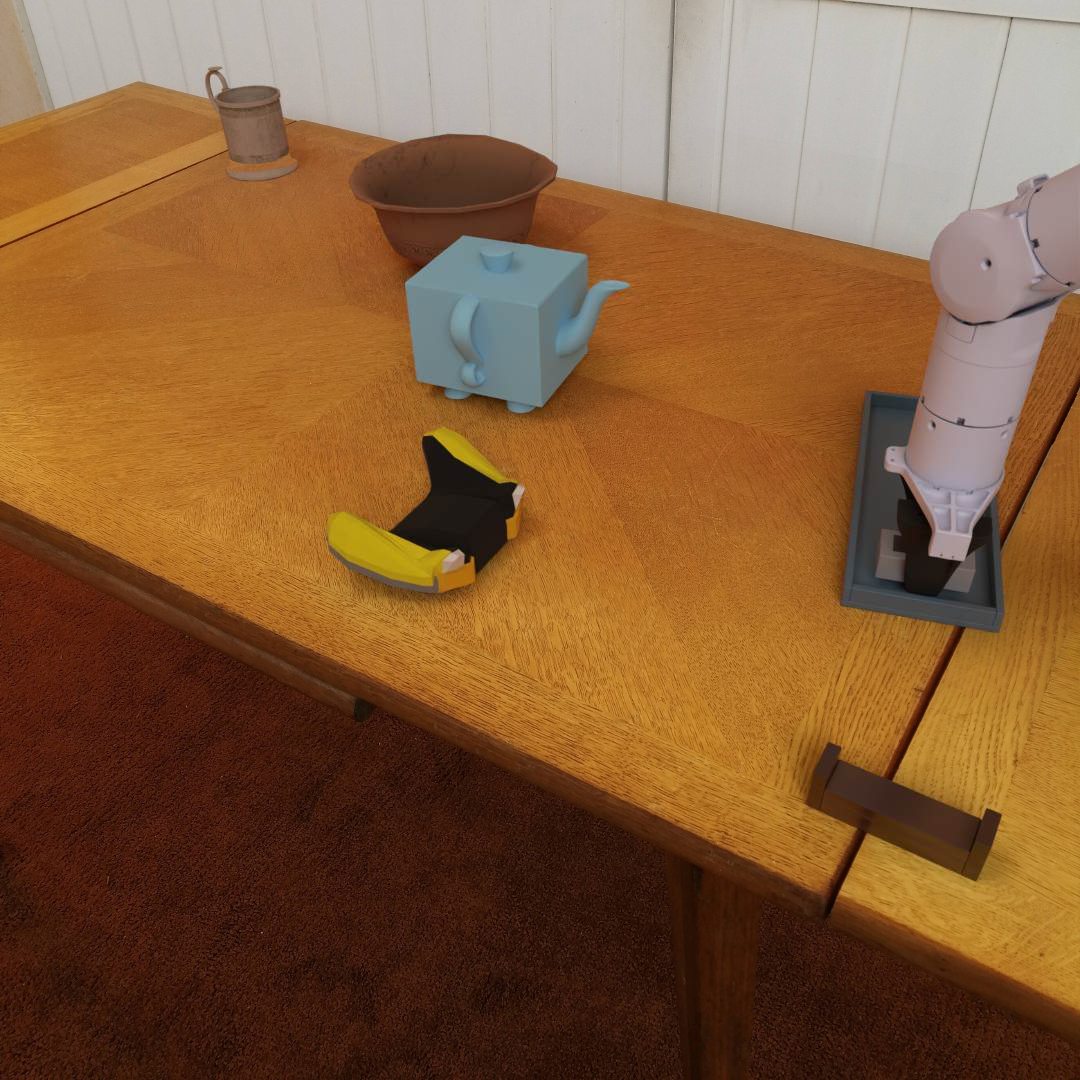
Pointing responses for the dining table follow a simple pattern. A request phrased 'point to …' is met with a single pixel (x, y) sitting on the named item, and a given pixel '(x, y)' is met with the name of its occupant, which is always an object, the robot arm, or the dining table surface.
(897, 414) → the tray
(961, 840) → the brown drawer handle
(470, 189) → the bowl
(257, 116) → the mug
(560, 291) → the teapot
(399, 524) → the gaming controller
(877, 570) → the grey block
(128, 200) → the dining table surface
